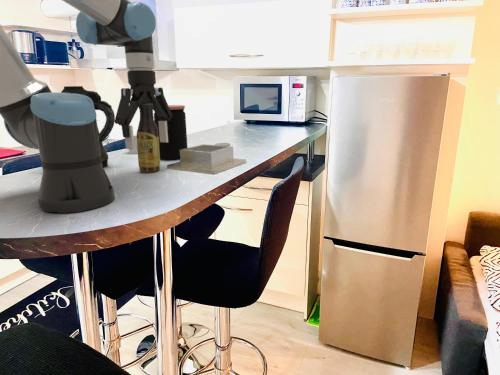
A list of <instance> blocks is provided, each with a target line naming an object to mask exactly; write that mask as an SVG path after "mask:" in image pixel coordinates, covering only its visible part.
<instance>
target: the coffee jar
mask: <svg viewBox="0 0 500 375" xmlns="http://www.w3.org/2000/svg"><path fill="white" fill-rule="evenodd" d="M168 106H169V109H170V111H171V113H172V118H170V121H168V131H167V133H168V142H167V143H166V142H160V135H159V123H158V121H161V120H160V118H159V117H158V116H157V114H156V113H155V112H153V117H154V122H155V123H156V125H157V127H158V136H159V153H160V161H161V160H163V161H178V160H180V150H181V149H185V148H188V137H187V136H188V134H187V132H188V131H187V120H186V119H187V118H186V112H185V111H184V110H185V109H186V108H185V107H186V106H185V105H178V104H176V105H175V104H173V105H168Z"/></svg>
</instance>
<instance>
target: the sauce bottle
mask: <svg viewBox="0 0 500 375" xmlns="http://www.w3.org/2000/svg"><path fill="white" fill-rule="evenodd" d="M138 110H139V122H138V126H137V130H136V134H137V148H138V154H137V162H138V167H139V168H138V169H139V172H142V173H155V172H158V171H160V169H161V167H160V166H161V159H160V153H159V136H158V127H157V125H156V123H155V122H154V110H153V104H141V105H140V106H139V107H138Z"/></svg>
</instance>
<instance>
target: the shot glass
mask: <svg viewBox="0 0 500 375" xmlns="http://www.w3.org/2000/svg"><path fill="white" fill-rule="evenodd" d="M133 136H134V146H135V149H128V152H129V154H131V155H138V148H137V133H133Z"/></svg>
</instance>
